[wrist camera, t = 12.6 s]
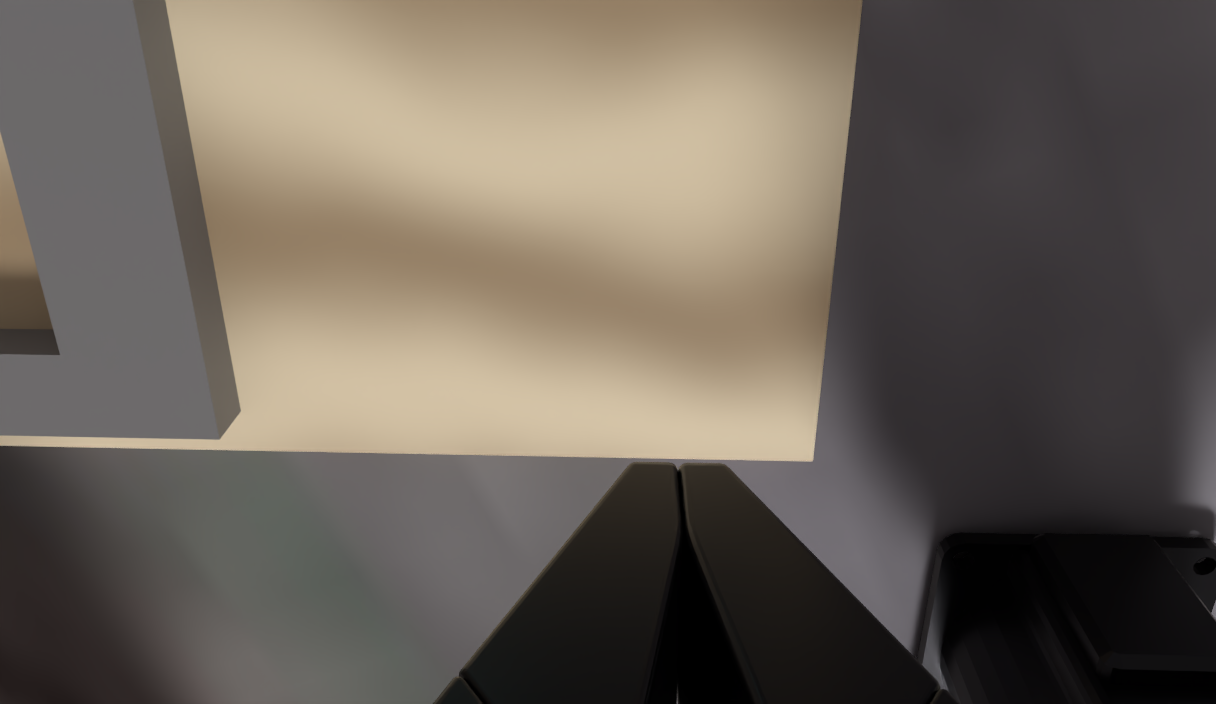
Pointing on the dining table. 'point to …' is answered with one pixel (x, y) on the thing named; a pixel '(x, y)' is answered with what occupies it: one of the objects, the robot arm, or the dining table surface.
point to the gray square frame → (109, 230)
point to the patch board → (510, 222)
